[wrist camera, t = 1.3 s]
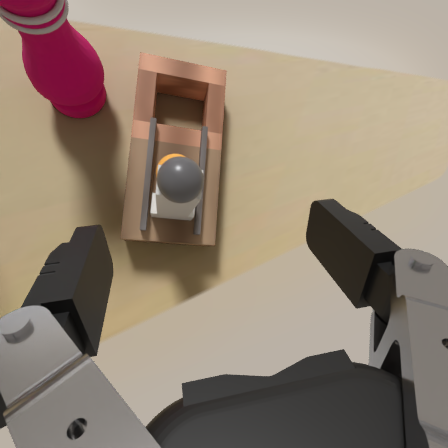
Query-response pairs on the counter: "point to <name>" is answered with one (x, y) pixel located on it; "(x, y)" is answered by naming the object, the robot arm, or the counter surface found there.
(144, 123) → the launcher track
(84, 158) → the counter surface
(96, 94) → the pepper mill
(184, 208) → the launcher plunger
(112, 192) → the counter surface
